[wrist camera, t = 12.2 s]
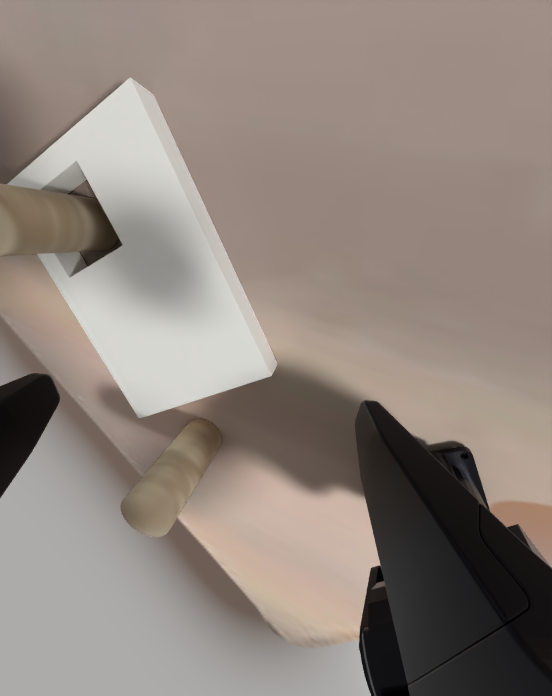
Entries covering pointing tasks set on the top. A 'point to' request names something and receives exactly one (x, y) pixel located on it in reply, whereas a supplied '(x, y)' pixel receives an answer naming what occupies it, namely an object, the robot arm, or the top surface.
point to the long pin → (51, 222)
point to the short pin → (171, 479)
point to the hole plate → (150, 262)
